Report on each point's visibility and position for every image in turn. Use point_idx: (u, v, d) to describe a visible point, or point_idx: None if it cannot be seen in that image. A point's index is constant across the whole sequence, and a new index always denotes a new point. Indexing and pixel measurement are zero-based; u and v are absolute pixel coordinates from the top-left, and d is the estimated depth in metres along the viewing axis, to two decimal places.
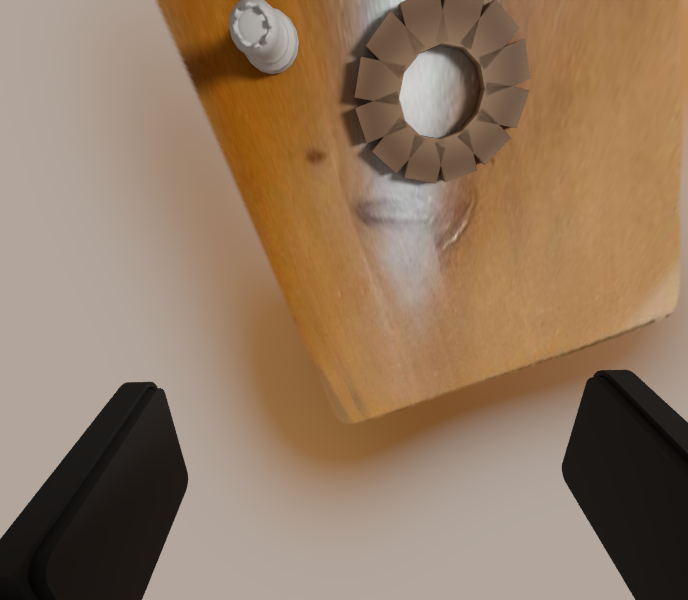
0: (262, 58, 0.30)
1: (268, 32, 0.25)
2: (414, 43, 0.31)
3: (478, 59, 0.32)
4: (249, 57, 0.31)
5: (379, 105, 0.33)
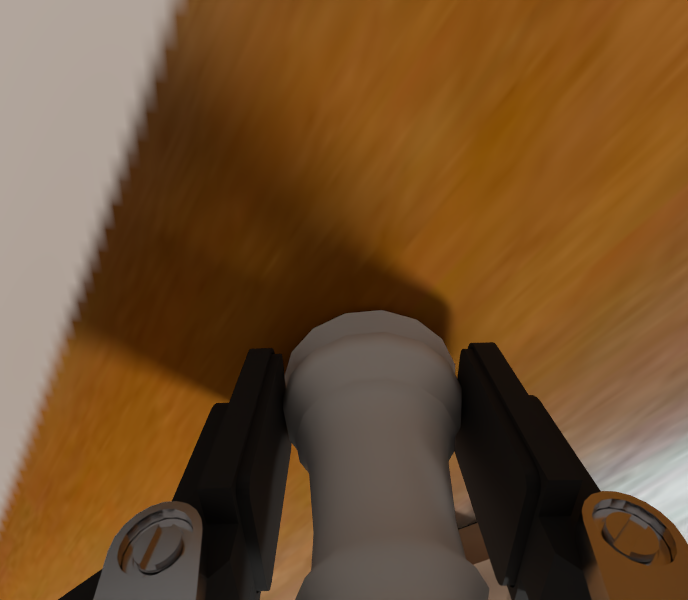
0: None
1: None
2: None
3: None
4: (290, 413, 0.09)
5: None
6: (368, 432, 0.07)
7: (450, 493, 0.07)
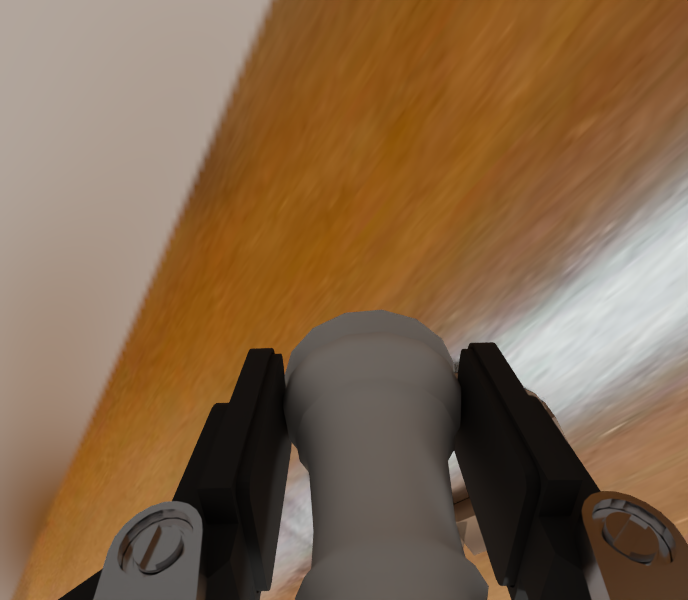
0: None
1: None
2: None
3: None
4: (290, 412, 0.09)
5: None
6: (367, 431, 0.07)
7: (449, 492, 0.07)
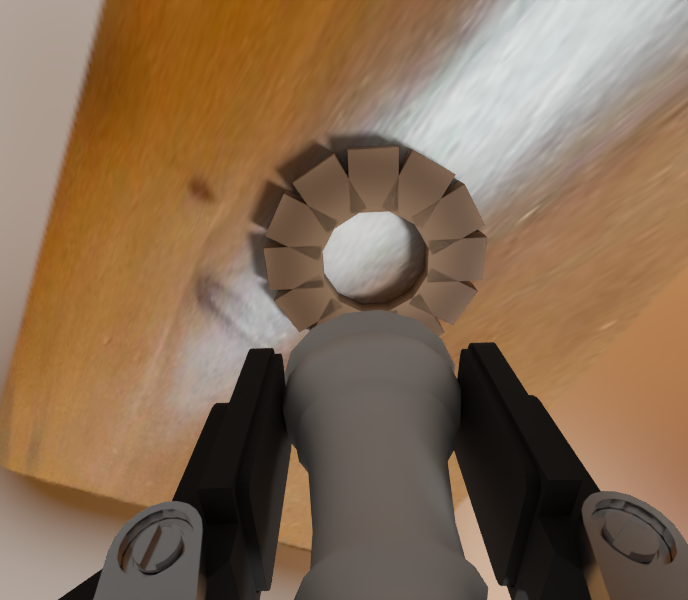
0: None
1: None
2: (391, 198, 0.24)
3: (430, 269, 0.26)
4: (290, 412, 0.09)
5: (310, 215, 0.24)
6: (367, 432, 0.07)
7: (449, 493, 0.07)
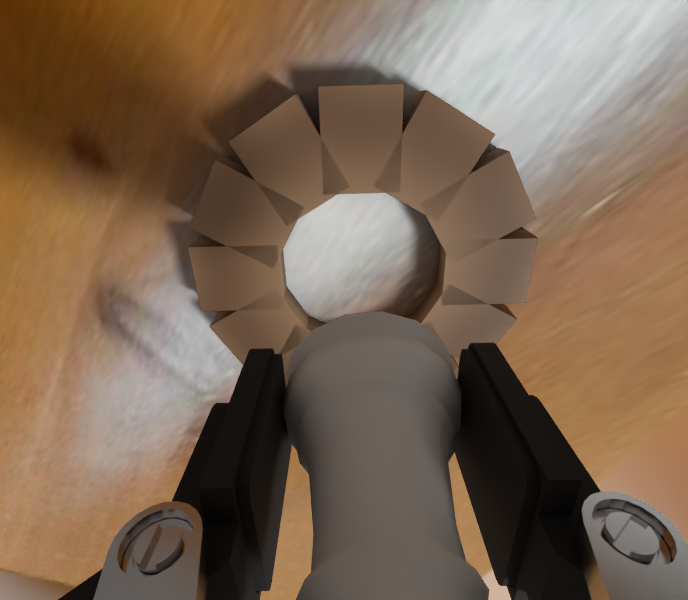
0: None
1: None
2: (390, 171, 0.15)
3: (446, 285, 0.17)
4: (290, 414, 0.09)
5: (259, 196, 0.15)
6: (367, 434, 0.07)
7: (450, 494, 0.07)
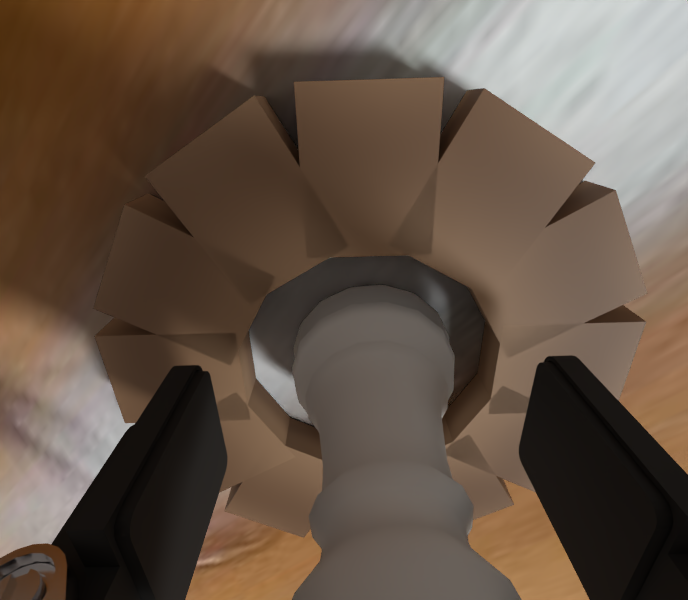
0: None
1: None
2: (416, 223, 0.09)
3: (497, 387, 0.11)
4: (300, 375, 0.10)
5: (202, 262, 0.09)
6: (370, 384, 0.08)
7: (442, 436, 0.08)
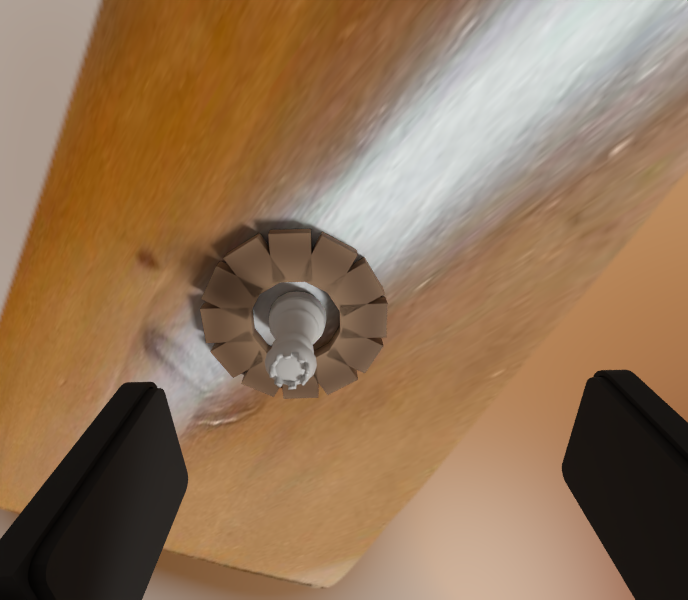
0: None
1: (297, 381, 0.25)
2: (306, 271, 0.29)
3: (342, 327, 0.31)
4: (271, 321, 0.30)
5: (238, 283, 0.29)
6: (290, 319, 0.28)
7: (310, 334, 0.28)
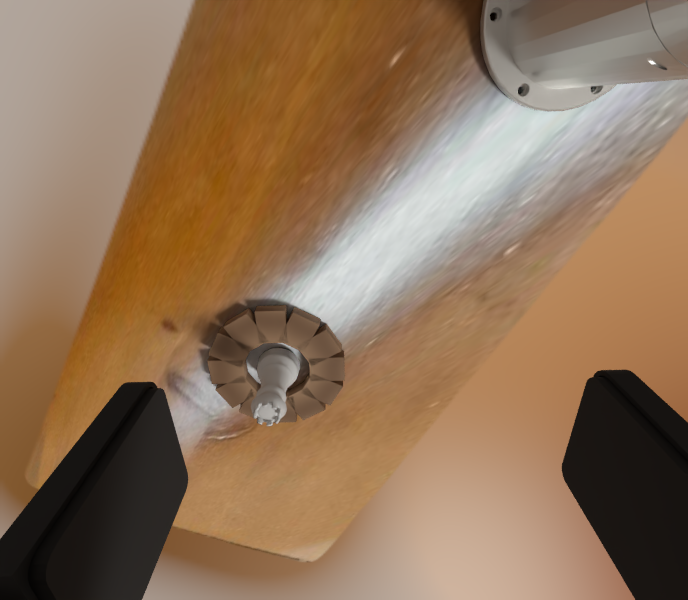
0: None
1: (273, 420, 0.36)
2: (283, 336, 0.39)
3: (311, 373, 0.42)
4: (258, 370, 0.41)
5: (234, 344, 0.40)
6: (271, 372, 0.39)
7: (285, 383, 0.39)
